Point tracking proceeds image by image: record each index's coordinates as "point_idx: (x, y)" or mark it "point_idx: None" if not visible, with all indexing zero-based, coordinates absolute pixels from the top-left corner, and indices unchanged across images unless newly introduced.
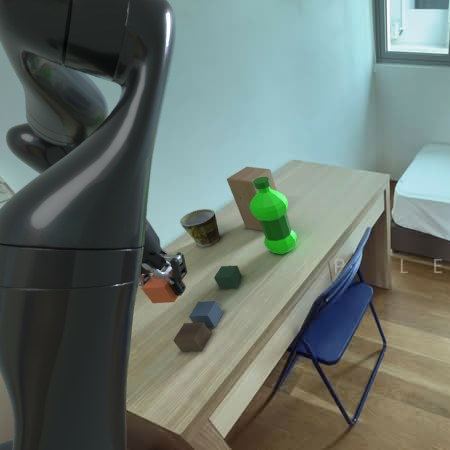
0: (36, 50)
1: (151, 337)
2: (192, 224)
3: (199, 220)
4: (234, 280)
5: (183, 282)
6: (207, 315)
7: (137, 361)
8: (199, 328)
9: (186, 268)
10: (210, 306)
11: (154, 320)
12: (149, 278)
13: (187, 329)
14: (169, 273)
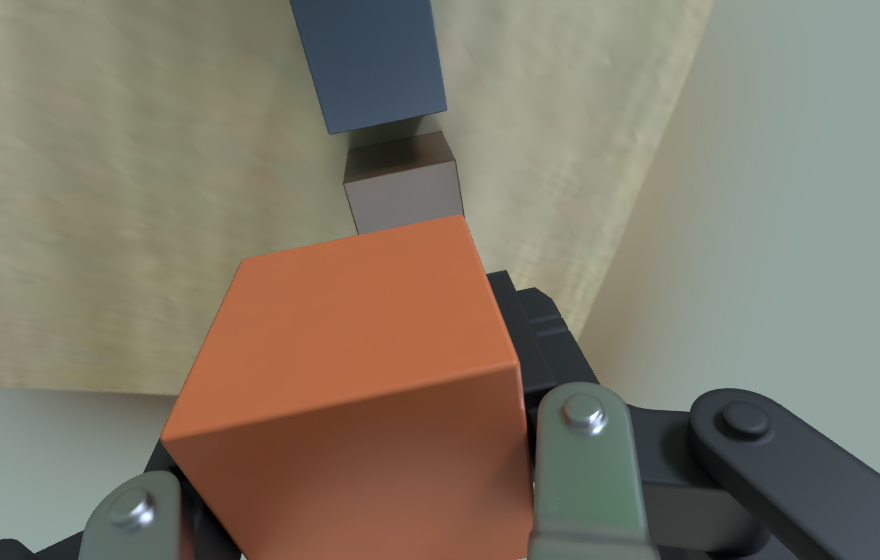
0: None
1: (144, 192)
2: None
3: None
4: None
5: (473, 243)
6: (444, 109)
7: (215, 296)
8: (459, 200)
9: (869, 468)
10: (416, 33)
11: (28, 92)
12: (204, 510)
13: (397, 216)
14: (437, 415)
